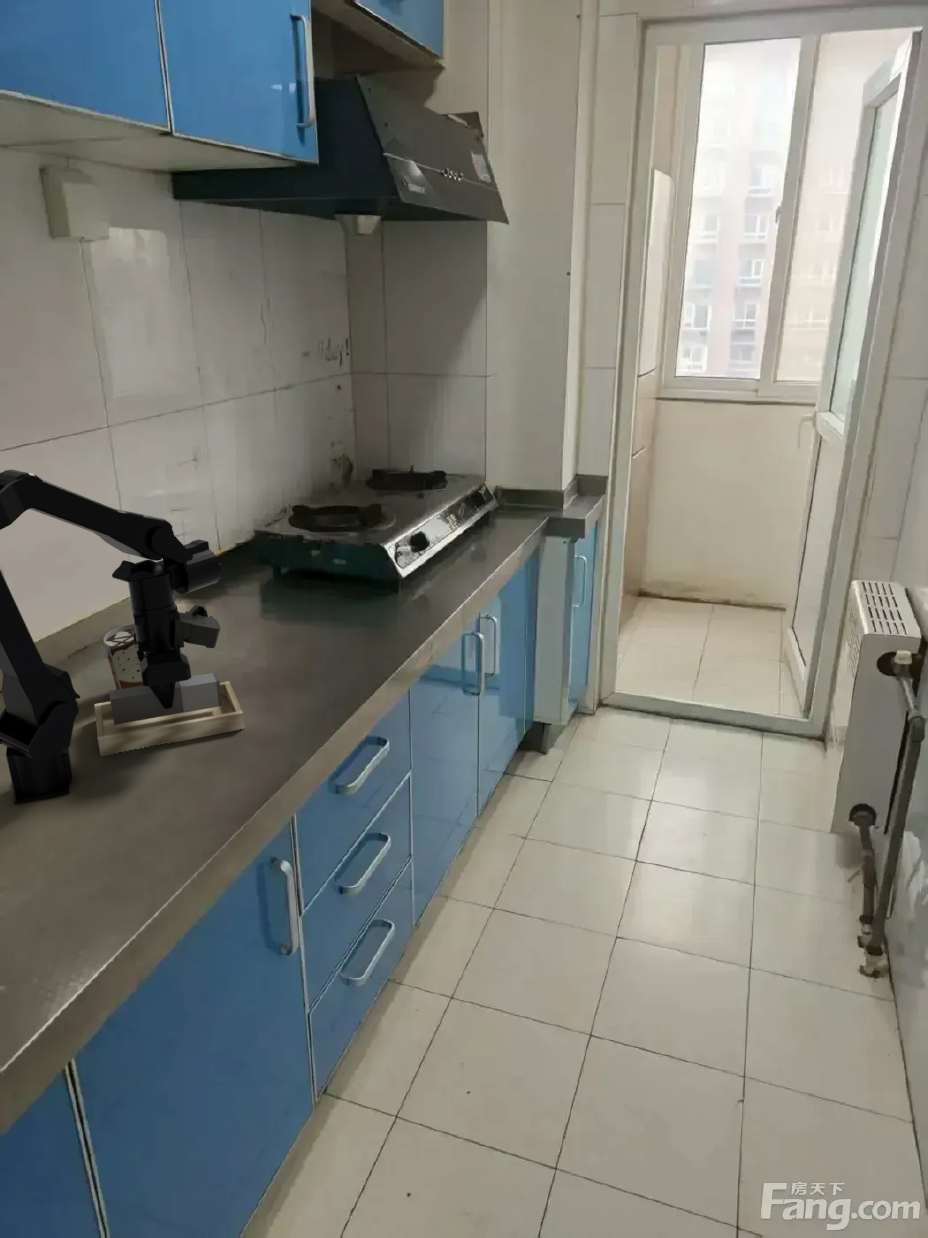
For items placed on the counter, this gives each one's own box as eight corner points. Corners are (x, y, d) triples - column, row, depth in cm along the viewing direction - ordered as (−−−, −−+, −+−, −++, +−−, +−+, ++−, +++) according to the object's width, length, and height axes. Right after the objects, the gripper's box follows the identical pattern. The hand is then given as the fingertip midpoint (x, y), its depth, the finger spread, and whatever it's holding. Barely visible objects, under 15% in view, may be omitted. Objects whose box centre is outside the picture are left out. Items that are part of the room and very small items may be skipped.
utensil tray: (100, 756, 117) (97, 739, 116) (97, 719, 127) (94, 704, 126) (244, 728, 125) (243, 713, 124) (230, 696, 135) (229, 681, 134)
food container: (163, 669, 144) (155, 614, 140) (184, 679, 140) (177, 623, 137) (94, 694, 135) (84, 636, 131) (114, 706, 131) (105, 646, 128)
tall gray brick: (218, 697, 129) (216, 672, 128) (222, 705, 127) (219, 680, 125) (113, 715, 124) (108, 690, 122) (114, 725, 121) (110, 699, 119)
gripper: (223, 617, 114) (234, 720, 120) (203, 576, 130) (213, 669, 136) (135, 629, 110) (150, 736, 116) (125, 585, 126) (139, 681, 131)
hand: (167, 703), depth 125 cm, fingers closed on tall gray brick, 3 cm apart
